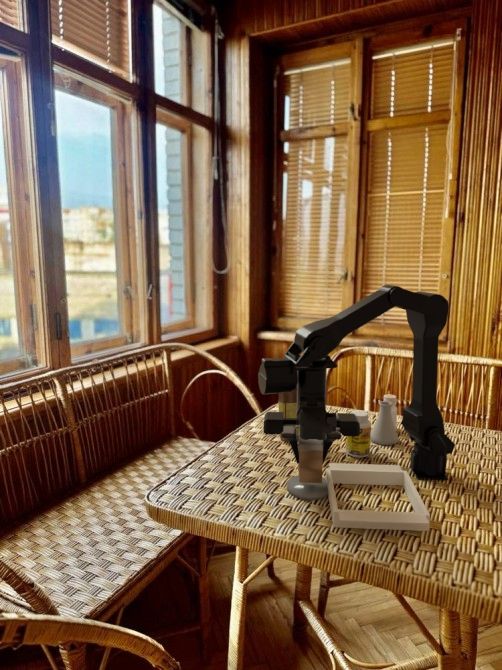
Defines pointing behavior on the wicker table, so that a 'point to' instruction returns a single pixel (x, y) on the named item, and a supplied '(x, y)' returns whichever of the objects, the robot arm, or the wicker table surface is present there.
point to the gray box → (310, 460)
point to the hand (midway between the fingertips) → (309, 463)
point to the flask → (384, 426)
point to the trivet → (307, 489)
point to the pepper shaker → (393, 409)
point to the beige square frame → (375, 519)
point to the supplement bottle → (360, 437)
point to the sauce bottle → (289, 407)
